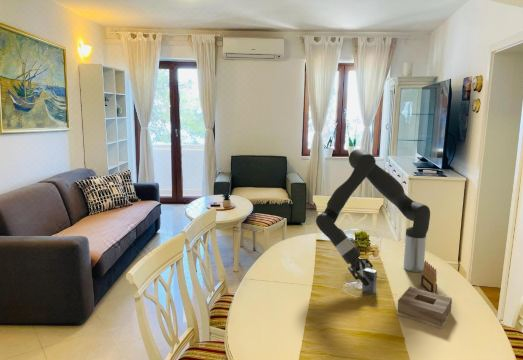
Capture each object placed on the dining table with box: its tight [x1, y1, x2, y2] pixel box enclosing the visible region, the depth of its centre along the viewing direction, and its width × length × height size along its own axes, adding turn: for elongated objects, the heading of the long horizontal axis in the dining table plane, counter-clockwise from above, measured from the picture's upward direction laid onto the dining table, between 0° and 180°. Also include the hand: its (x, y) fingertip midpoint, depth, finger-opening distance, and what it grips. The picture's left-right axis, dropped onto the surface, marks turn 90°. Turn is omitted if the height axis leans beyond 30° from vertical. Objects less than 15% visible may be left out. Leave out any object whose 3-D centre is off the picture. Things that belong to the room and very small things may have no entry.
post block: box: [396, 286, 453, 329], centre depth 148 cm, size 14×16×6 cm
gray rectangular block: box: [361, 268, 378, 295], centre depth 165 cm, size 3×5×10 cm, turn 52°
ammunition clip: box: [420, 259, 438, 294], centre depth 166 cm, size 11×2×12 cm, turn 3°
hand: (371, 281), depth 164 cm, fingers open, 8 cm apart
